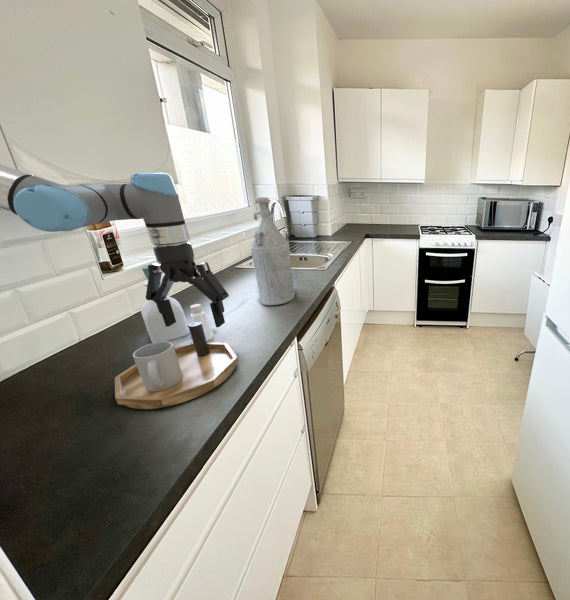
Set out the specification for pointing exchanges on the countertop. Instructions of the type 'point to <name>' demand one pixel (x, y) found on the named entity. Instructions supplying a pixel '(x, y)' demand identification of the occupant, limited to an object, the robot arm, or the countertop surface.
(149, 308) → the soap bottle
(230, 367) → the tray
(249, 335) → the countertop surface
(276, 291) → the grey jug bottle
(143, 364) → the cup
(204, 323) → the salt shaker
